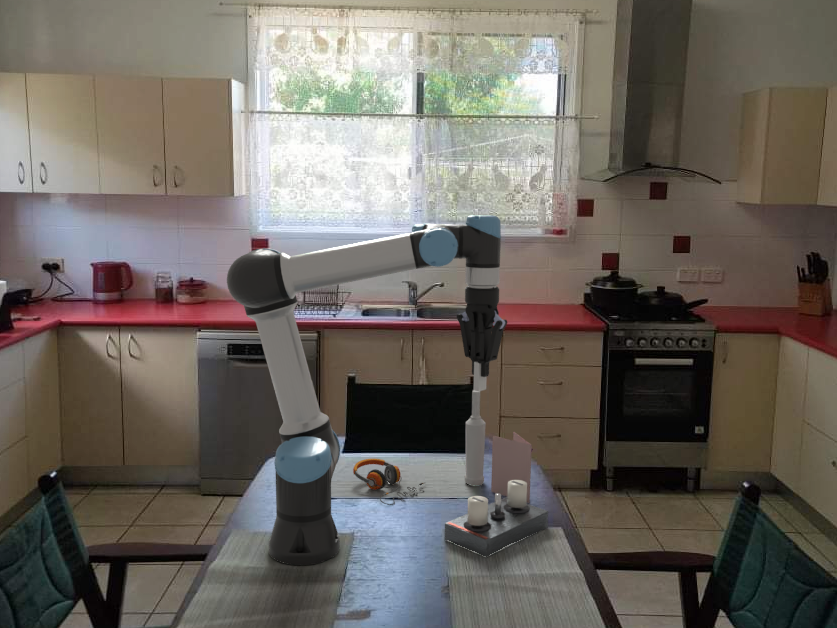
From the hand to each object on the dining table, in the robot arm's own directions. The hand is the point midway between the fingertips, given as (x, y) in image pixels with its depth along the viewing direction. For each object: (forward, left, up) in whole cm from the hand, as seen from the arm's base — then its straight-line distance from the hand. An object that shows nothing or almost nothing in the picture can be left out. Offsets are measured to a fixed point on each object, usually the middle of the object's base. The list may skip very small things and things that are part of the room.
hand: (479, 389), depth 182 cm
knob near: (+6, -7, -27) cm, 29 cm away
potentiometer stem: (+6, 0, -28) cm, 29 cm away
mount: (+6, 0, -32) cm, 33 cm away
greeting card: (-6, +20, -33) cm, 39 cm away
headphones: (-32, +1, -33) cm, 45 cm away
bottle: (-18, +20, -33) cm, 42 cm away
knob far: (+6, +7, -27) cm, 29 cm away
